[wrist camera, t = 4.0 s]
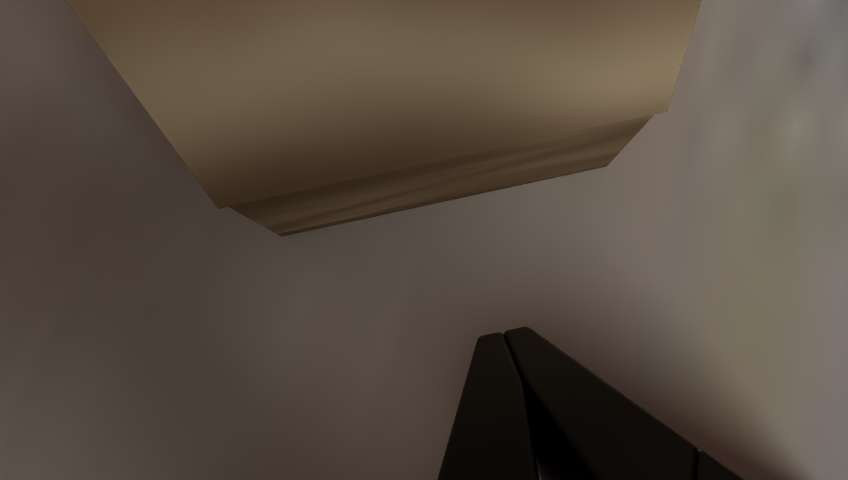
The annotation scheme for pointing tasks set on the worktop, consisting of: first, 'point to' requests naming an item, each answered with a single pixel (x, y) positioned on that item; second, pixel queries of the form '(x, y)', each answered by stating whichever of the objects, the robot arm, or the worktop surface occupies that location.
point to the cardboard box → (443, 179)
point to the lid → (380, 79)
